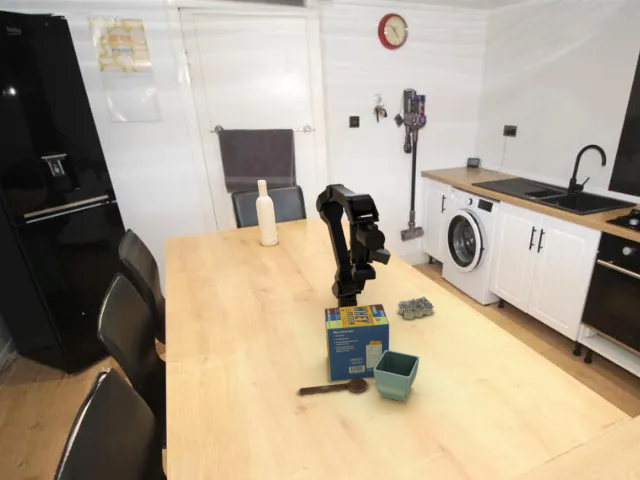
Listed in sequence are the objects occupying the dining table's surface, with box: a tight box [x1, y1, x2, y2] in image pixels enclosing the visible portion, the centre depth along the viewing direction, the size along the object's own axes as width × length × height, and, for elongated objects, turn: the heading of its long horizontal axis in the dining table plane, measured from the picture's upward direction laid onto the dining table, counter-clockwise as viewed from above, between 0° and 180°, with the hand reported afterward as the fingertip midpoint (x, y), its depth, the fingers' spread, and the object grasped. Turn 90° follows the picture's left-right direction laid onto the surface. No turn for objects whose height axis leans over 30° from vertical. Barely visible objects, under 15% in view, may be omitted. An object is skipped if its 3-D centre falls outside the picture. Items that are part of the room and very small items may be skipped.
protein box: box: [324, 303, 390, 382], centre depth 105 cm, size 10×15×16 cm
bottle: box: [255, 179, 279, 247], centre depth 192 cm, size 8×8×30 cm
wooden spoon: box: [298, 378, 368, 395], centre depth 100 cm, size 16×5×1 cm, turn 100°
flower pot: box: [373, 349, 420, 402], centre depth 97 cm, size 9×9×9 cm
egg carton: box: [397, 296, 435, 320], centre depth 134 cm, size 11×8×4 cm
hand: (361, 290), depth 121 cm, fingers closed
